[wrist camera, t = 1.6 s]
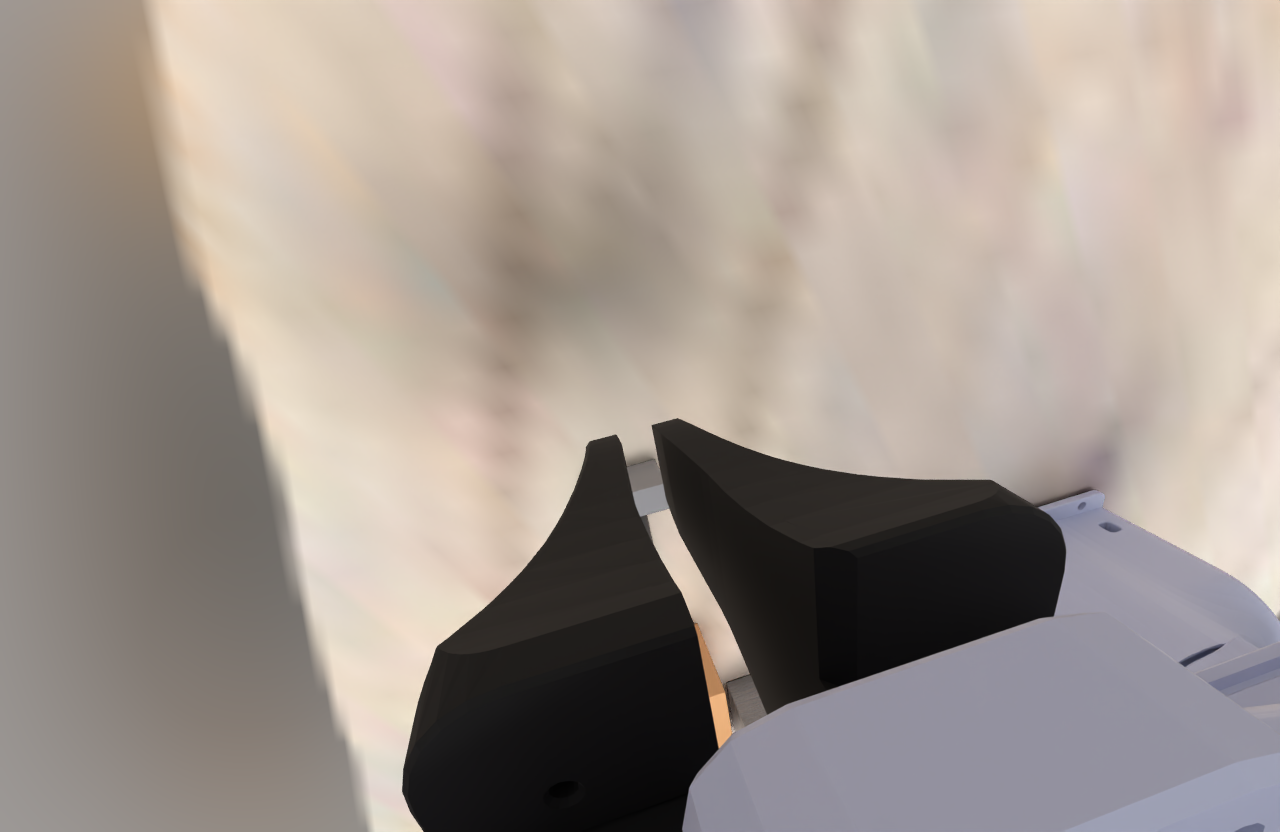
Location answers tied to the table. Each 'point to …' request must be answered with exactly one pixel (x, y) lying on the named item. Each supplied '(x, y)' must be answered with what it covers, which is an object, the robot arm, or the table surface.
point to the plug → (653, 500)
